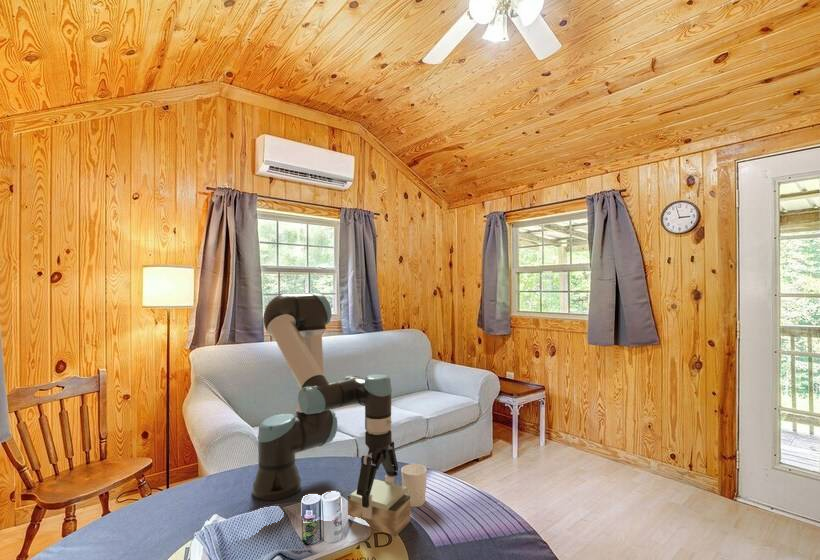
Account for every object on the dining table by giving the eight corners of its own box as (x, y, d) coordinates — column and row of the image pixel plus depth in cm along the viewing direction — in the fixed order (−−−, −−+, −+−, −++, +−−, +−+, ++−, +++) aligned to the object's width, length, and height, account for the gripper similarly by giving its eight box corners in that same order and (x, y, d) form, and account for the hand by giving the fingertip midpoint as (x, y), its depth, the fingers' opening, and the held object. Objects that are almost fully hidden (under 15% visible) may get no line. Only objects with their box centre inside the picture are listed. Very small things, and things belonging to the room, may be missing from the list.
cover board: (350, 499, 116) (350, 494, 116) (372, 483, 126) (371, 478, 126) (386, 510, 111) (386, 504, 111) (406, 492, 120) (406, 487, 120)
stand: (347, 520, 119) (347, 495, 119) (363, 507, 126) (363, 484, 126) (396, 536, 111) (396, 509, 111) (410, 521, 118) (410, 496, 118)
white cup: (427, 495, 132) (427, 464, 132) (426, 508, 124) (425, 475, 125) (403, 494, 133) (402, 463, 133) (400, 507, 125) (399, 474, 125)
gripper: (366, 446, 107) (366, 532, 106) (409, 420, 127) (409, 492, 127) (342, 441, 110) (343, 524, 110) (388, 416, 131) (389, 486, 131)
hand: (378, 507), depth 118 cm, fingers closed on cover board, 11 cm apart
